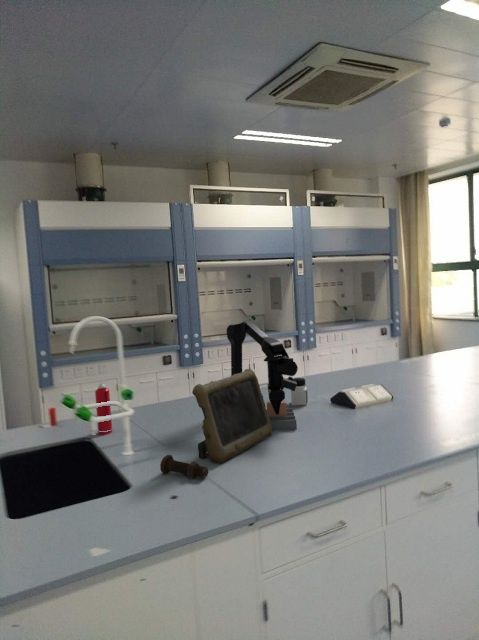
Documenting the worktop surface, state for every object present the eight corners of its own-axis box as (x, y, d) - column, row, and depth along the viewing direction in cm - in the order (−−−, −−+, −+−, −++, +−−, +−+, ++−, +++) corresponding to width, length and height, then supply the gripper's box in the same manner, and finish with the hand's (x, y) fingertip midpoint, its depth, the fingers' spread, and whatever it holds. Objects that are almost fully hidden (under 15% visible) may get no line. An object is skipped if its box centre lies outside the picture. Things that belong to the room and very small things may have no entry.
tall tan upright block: (267, 423, 179) (266, 404, 179) (267, 421, 182) (266, 402, 182) (287, 422, 179) (286, 403, 179) (287, 420, 182) (286, 401, 182)
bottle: (108, 429, 185) (104, 381, 184) (114, 431, 181) (111, 383, 180) (95, 432, 181) (92, 384, 180) (102, 435, 178) (98, 385, 176)
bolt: (205, 486, 131) (164, 476, 138) (212, 472, 134) (172, 463, 141) (199, 473, 128) (157, 464, 135) (207, 459, 131) (166, 451, 139)
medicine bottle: (307, 405, 206) (305, 379, 205) (291, 405, 207) (290, 379, 207) (307, 401, 213) (306, 376, 212) (292, 401, 214) (291, 376, 214)
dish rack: (260, 430, 173) (259, 421, 172) (259, 418, 189) (259, 409, 189) (296, 429, 172) (296, 420, 172) (293, 416, 189) (292, 408, 189)
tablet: (227, 466, 139) (223, 387, 138) (192, 460, 147) (187, 385, 145) (274, 434, 167) (271, 368, 166) (243, 430, 174) (239, 367, 173)
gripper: (297, 376, 170) (299, 417, 171) (293, 367, 188) (294, 404, 189) (267, 378, 170) (269, 418, 171) (266, 369, 189) (268, 405, 190)
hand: (276, 411), depth 180 cm, fingers open, 9 cm apart
